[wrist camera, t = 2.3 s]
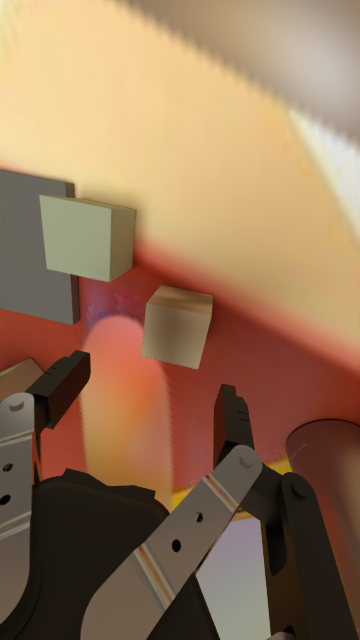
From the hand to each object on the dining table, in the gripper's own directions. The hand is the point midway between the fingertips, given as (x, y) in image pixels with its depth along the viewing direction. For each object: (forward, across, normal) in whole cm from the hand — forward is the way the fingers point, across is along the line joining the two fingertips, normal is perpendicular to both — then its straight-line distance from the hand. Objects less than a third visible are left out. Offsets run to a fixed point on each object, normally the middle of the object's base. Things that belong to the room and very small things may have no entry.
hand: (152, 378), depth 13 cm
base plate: (+10, +18, -3) cm, 21 cm away
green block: (+10, +8, -6) cm, 14 cm away
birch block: (+10, 0, 0) cm, 10 cm away
